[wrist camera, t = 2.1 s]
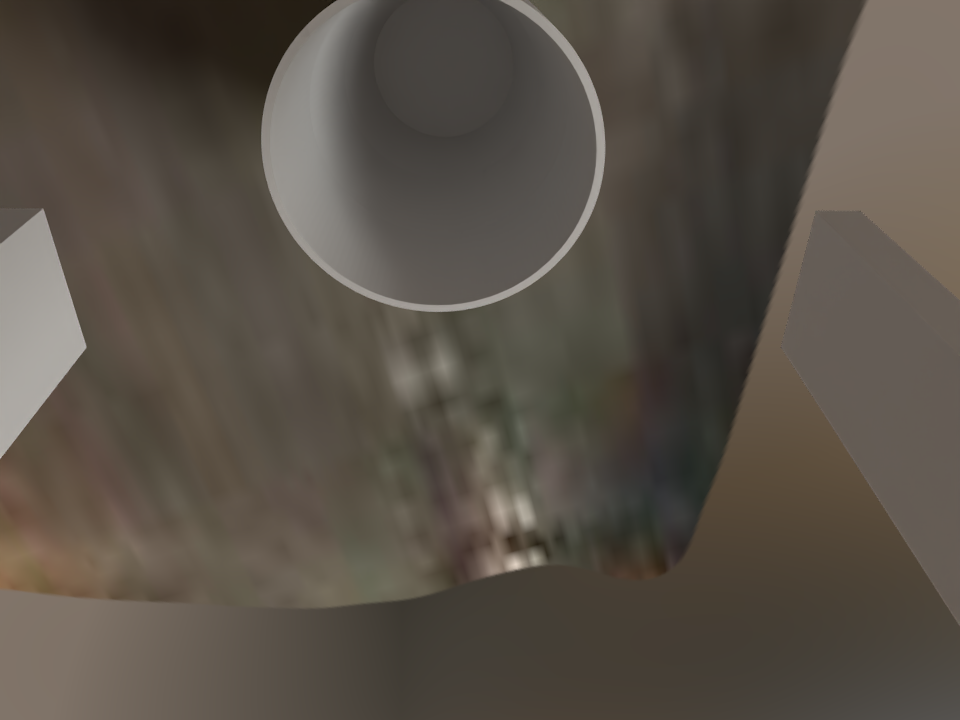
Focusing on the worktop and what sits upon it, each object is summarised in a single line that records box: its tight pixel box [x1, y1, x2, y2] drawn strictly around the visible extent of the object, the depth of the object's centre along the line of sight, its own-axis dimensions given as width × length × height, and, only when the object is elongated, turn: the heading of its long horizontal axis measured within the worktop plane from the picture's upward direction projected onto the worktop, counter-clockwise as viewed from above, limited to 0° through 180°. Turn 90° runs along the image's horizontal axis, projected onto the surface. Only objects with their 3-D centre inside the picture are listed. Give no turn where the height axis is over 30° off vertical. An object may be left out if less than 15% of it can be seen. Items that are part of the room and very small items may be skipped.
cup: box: [261, 0, 605, 312], centre depth 23 cm, size 8×8×10 cm
